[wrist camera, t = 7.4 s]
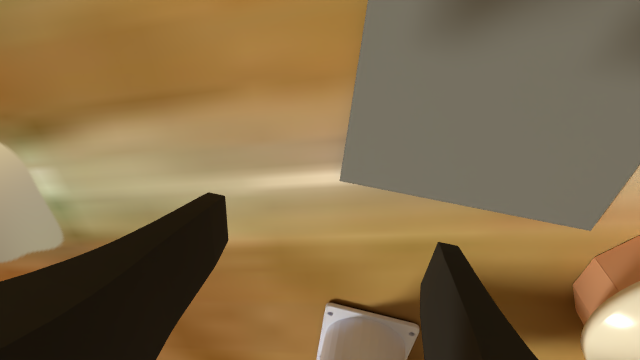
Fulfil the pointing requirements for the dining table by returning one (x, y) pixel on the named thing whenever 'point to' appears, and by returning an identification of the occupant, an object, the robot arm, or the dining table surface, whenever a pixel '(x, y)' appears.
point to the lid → (614, 328)
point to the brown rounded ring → (607, 277)
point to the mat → (499, 104)
